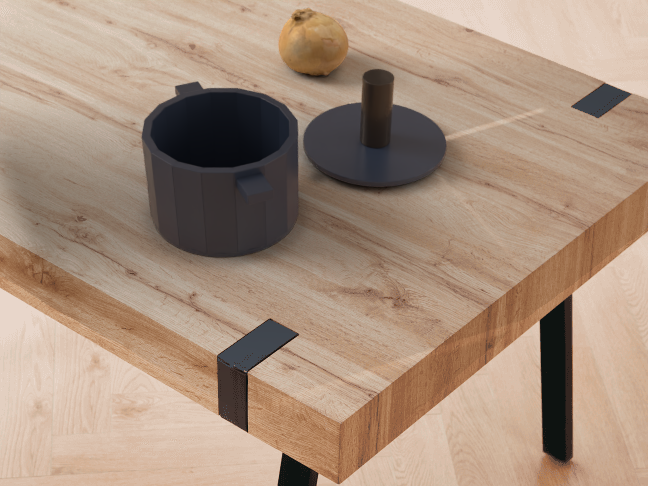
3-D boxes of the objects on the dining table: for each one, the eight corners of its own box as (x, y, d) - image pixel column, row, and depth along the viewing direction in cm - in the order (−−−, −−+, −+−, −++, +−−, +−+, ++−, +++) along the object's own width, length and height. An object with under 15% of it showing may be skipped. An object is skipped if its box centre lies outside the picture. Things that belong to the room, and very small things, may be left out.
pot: (189, 291, 95) (181, 205, 89) (125, 173, 108) (114, 91, 102) (333, 251, 100) (335, 167, 94) (256, 143, 113) (253, 63, 107)
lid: (339, 205, 106) (342, 130, 100) (281, 128, 115) (279, 55, 110) (471, 171, 111) (481, 98, 105) (404, 100, 121) (409, 29, 115)
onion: (327, 44, 129) (328, -11, 125) (360, 75, 124) (362, 18, 120) (267, 58, 126) (266, 2, 122) (298, 90, 121) (298, 33, 116)
